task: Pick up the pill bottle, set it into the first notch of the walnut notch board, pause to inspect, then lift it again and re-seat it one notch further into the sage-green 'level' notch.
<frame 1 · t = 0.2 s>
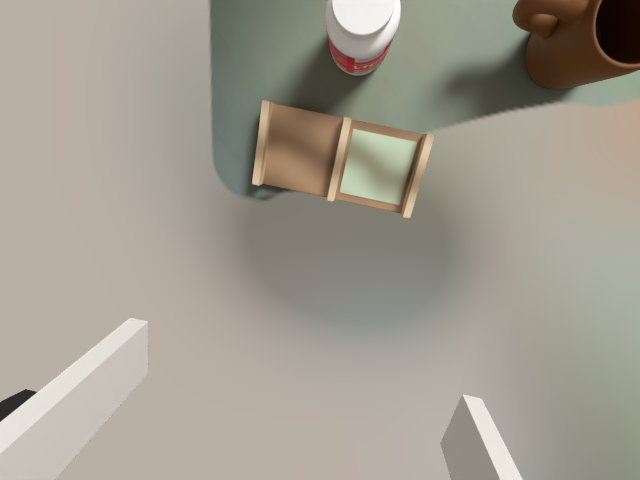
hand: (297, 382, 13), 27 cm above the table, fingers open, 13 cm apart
notch board: (339, 159, 36), on the table
mug: (539, 46, 31), on the table
pill bottle: (359, 44, 33), on the table
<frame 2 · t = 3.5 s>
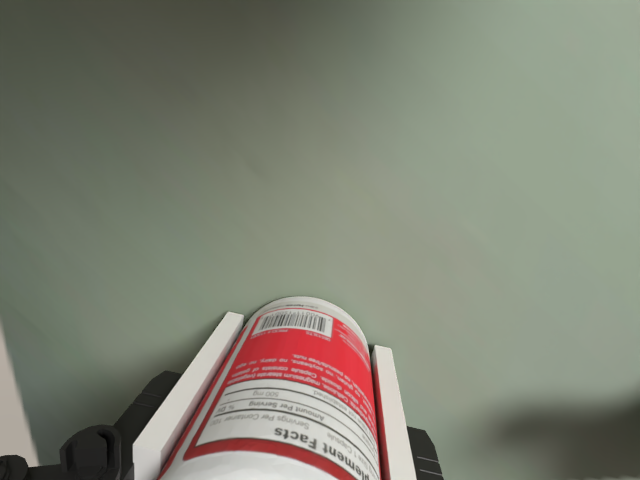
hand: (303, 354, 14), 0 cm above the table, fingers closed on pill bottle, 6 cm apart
pill bottle: (305, 345, 15), on the table, touching gripper
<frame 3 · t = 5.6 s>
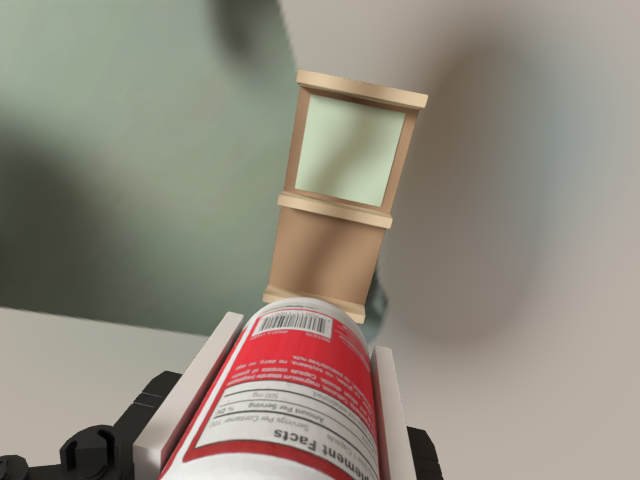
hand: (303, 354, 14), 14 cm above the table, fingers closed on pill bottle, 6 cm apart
notch board: (336, 204, 26), on the table
pill bottle: (305, 346, 15), point 14 cm above the table, touching gripper
when the fingers open (3 cm above the table, at t = 7.8 s): pill bottle drops 1 cm, resting on notch board.
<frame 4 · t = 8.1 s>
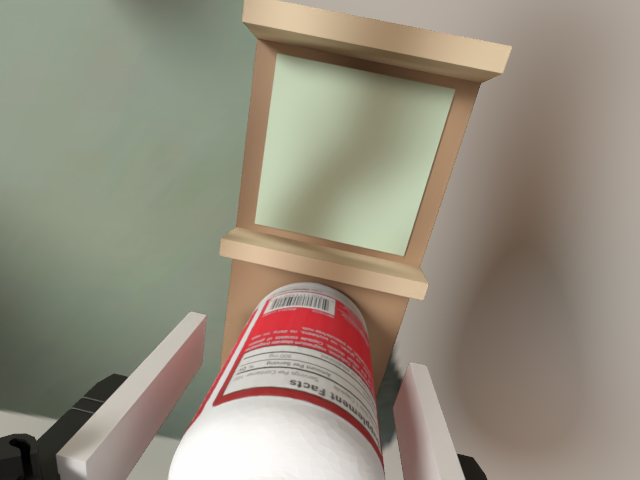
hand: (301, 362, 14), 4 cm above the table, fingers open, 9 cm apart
notch board: (327, 246, 16), on the table
pill bottle: (309, 329, 16), point 1 cm above the table, touching notch board
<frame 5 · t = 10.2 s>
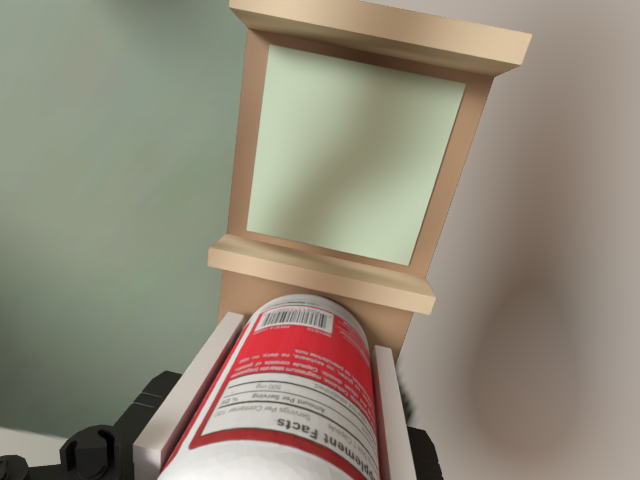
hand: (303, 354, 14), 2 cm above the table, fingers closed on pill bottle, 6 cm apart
notch board: (325, 254, 15), on the table
pill bottle: (306, 342, 15), point 1 cm above the table, touching gripper, notch board
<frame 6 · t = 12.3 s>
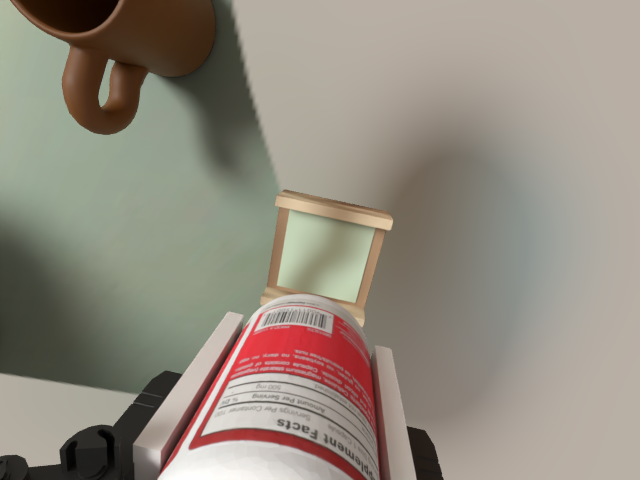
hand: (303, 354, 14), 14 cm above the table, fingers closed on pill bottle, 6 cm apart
notch board: (315, 295, 29), on the table
mug: (170, 56, 24), on the table
pill bottle: (306, 342, 15), point 13 cm above the table, touching gripper
when the fingers open (3 cm above the table, at t = 14.4 s): pill bottle drops 1 cm, resting on notch board.
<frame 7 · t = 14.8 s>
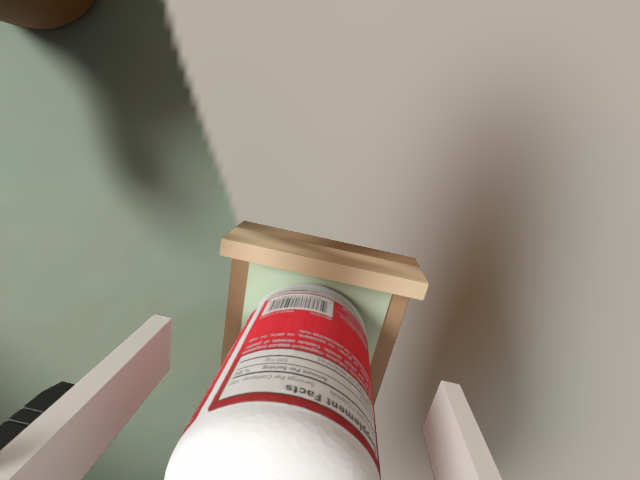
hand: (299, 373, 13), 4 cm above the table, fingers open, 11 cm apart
notch board: (298, 378, 19), on the table
pill bottle: (308, 329, 16), point 1 cm above the table, touching notch board
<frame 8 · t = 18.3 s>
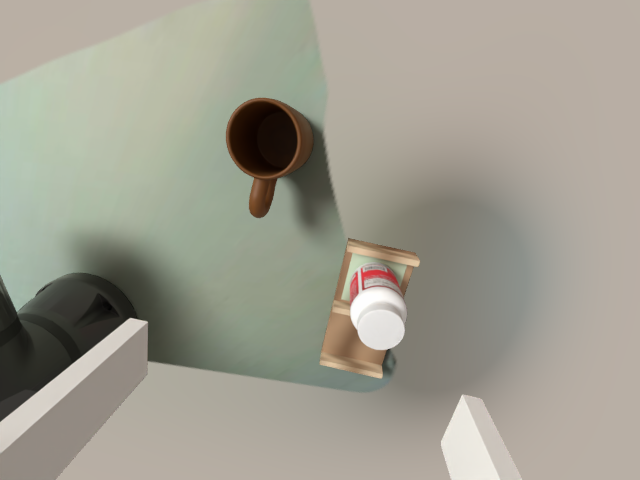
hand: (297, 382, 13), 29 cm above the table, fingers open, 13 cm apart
notch board: (365, 305, 43), on the table
mug: (281, 158, 38), on the table
pill bottle: (372, 281, 41), point 1 cm above the table, touching notch board
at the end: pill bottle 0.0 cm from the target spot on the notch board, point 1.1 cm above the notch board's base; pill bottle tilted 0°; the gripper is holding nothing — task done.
